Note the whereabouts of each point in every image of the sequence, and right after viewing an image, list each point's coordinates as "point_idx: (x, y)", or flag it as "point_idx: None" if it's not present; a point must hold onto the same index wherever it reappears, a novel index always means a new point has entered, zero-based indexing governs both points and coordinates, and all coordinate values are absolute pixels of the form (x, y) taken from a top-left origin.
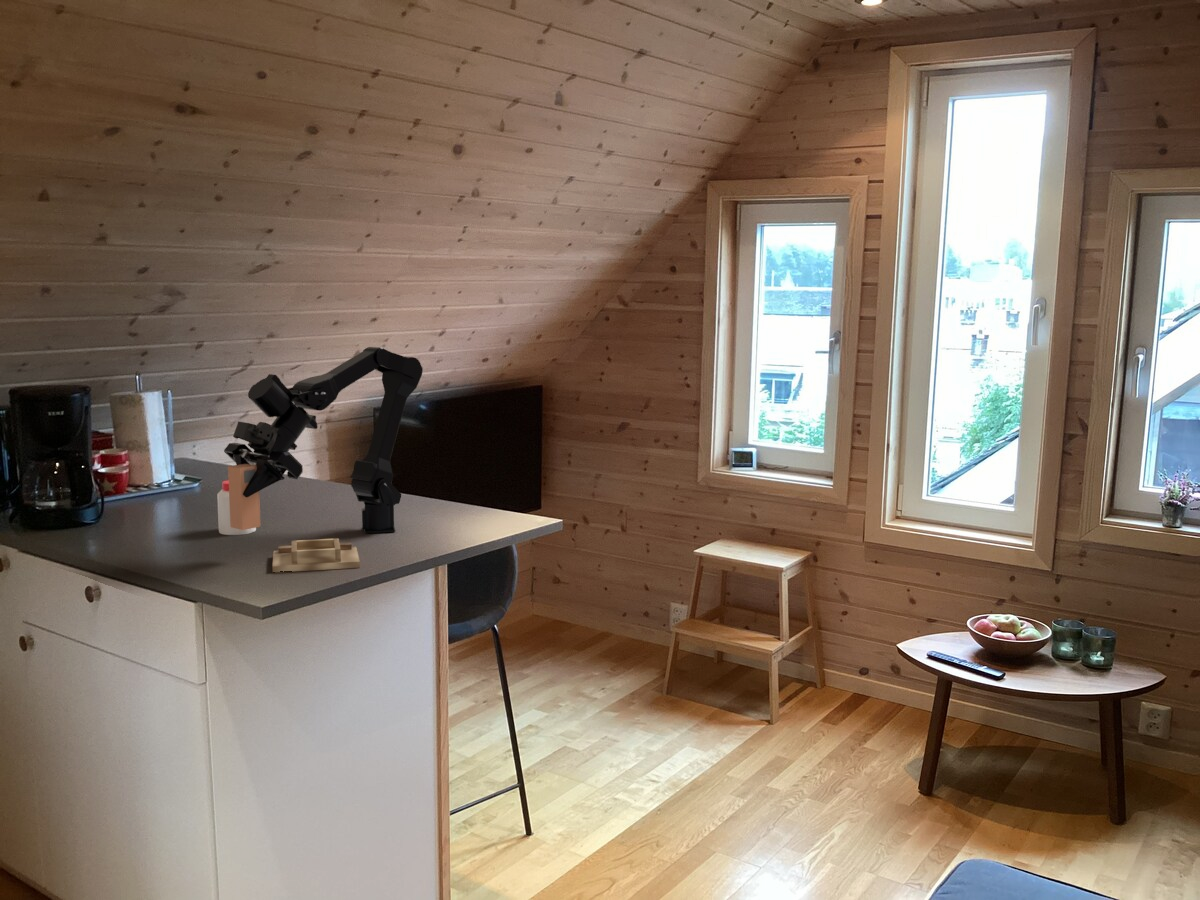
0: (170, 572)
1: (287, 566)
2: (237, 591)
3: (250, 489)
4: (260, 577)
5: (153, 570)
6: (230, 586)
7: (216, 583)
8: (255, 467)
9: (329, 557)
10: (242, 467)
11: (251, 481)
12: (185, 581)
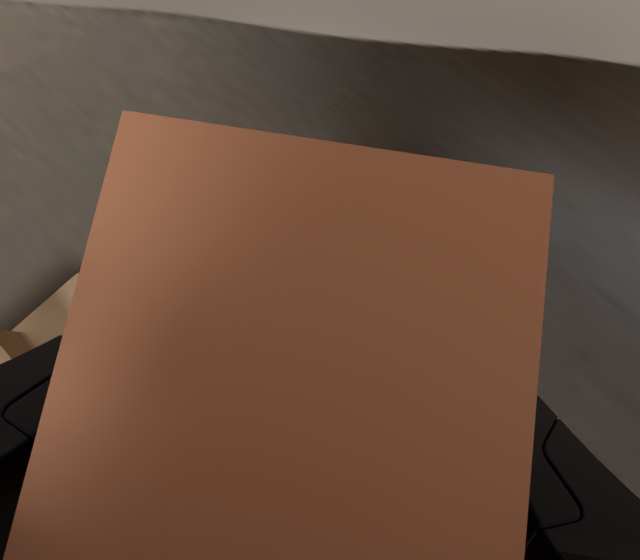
0: (417, 99)
1: (33, 312)
2: (42, 58)
3: None
4: (88, 210)
5: (490, 88)
6: (103, 84)
7: (171, 86)
8: (38, 490)
9: None
10: (190, 240)
11: None
12: (280, 53)
